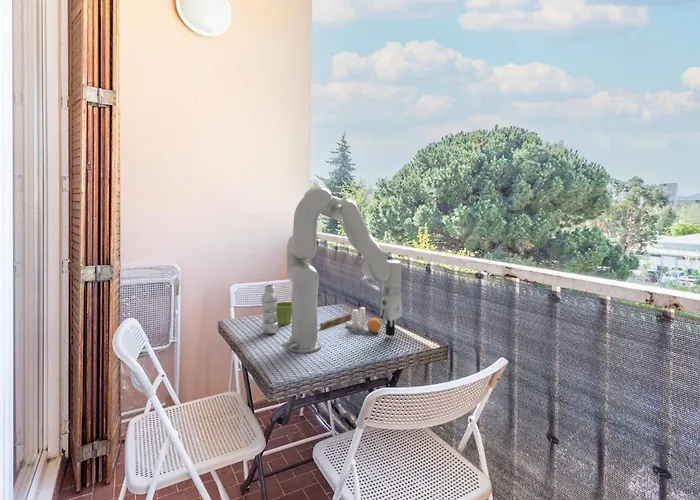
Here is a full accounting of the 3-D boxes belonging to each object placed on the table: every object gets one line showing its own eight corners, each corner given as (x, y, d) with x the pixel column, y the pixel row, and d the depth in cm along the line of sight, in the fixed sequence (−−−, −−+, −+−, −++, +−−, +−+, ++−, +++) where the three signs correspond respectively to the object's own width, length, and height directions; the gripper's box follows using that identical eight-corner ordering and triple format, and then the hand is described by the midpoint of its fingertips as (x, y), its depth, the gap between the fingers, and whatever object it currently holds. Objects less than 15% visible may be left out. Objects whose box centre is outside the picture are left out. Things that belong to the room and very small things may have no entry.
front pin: (360, 327, 164) (344, 322, 170) (361, 332, 165) (345, 327, 170) (364, 324, 166) (348, 320, 171) (365, 329, 166) (349, 325, 172)
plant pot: (283, 327, 168) (283, 308, 167) (268, 323, 173) (268, 304, 172) (298, 322, 175) (298, 304, 174) (284, 319, 181) (284, 300, 180)
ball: (362, 322, 164) (367, 335, 162) (371, 316, 161) (376, 329, 159) (371, 320, 169) (377, 333, 166) (380, 314, 165) (386, 327, 163)
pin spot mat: (365, 337, 157) (365, 336, 157) (342, 330, 165) (342, 330, 165) (381, 329, 167) (381, 329, 167) (359, 324, 174) (359, 323, 174)
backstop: (322, 329, 166) (323, 323, 166) (320, 328, 167) (320, 323, 167) (351, 319, 182) (351, 313, 182) (348, 318, 183) (348, 313, 183)
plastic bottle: (274, 336, 157) (274, 288, 154) (259, 335, 158) (258, 287, 156) (280, 331, 163) (280, 284, 161) (265, 330, 164) (265, 284, 162)
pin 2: (362, 329, 167) (363, 308, 166) (358, 328, 169) (358, 308, 168) (365, 327, 169) (366, 307, 168) (361, 326, 171) (361, 306, 170)
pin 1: (355, 332, 163) (355, 311, 162) (351, 331, 165) (351, 310, 164) (358, 330, 165) (359, 310, 164) (354, 329, 167) (354, 309, 166)
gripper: (389, 295, 147) (388, 342, 149) (408, 289, 159) (407, 332, 161) (373, 292, 151) (372, 337, 154) (393, 286, 163) (392, 328, 165)
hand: (390, 334), depth 157 cm, fingers closed
